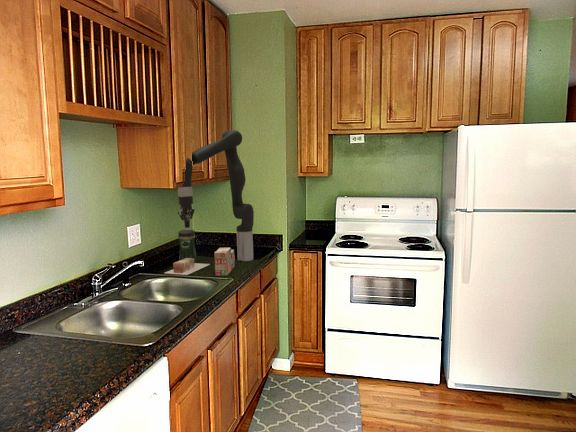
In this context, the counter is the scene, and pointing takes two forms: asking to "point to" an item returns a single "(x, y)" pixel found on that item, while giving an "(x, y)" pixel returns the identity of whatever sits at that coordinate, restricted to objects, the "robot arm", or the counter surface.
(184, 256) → the coffee jar
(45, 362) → the counter surface
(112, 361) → the counter surface
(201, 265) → the grey mat
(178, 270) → the birch block
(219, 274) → the printed cardboard box
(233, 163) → the robot arm
